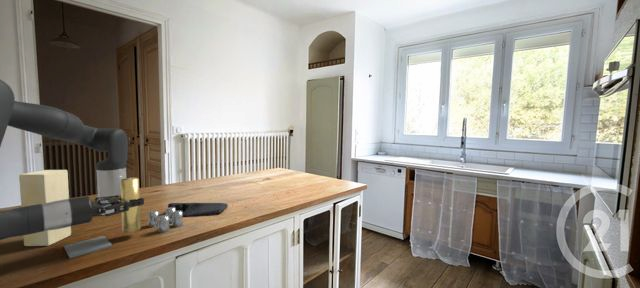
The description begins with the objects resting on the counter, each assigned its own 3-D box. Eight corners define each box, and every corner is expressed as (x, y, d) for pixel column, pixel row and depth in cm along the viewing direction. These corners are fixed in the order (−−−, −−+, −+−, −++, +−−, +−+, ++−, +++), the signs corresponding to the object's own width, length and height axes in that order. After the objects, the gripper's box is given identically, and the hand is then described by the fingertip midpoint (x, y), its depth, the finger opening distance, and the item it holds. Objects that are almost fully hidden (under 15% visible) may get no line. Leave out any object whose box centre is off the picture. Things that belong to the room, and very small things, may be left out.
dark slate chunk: (221, 217, 102) (221, 206, 101) (161, 219, 99) (160, 207, 99) (230, 205, 117) (230, 195, 116) (178, 206, 114) (177, 196, 114)
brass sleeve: (120, 229, 82) (118, 179, 81) (137, 225, 86) (135, 177, 84) (124, 233, 79) (122, 181, 78) (142, 229, 83) (140, 179, 81)
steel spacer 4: (171, 225, 92) (170, 212, 92) (180, 223, 94) (180, 209, 94) (174, 228, 90) (174, 214, 90) (184, 225, 92) (184, 211, 92)
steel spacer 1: (147, 226, 91) (146, 212, 91) (157, 223, 94) (156, 209, 94) (150, 228, 89) (149, 214, 89) (160, 225, 92) (160, 211, 92)
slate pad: (64, 247, 75) (64, 245, 75) (104, 237, 82) (104, 235, 82) (69, 258, 69) (69, 256, 69) (112, 246, 76) (111, 244, 76)
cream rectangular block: (47, 234, 83) (42, 169, 81) (72, 234, 84) (68, 169, 82) (20, 246, 75) (15, 174, 73) (48, 246, 76) (43, 174, 74)
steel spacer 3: (164, 223, 94) (163, 209, 93) (169, 220, 97) (168, 207, 97) (173, 223, 94) (172, 209, 93) (178, 220, 97) (177, 207, 97)
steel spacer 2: (156, 231, 87) (156, 216, 87) (167, 228, 90) (166, 214, 89) (160, 234, 85) (160, 219, 85) (171, 231, 88) (170, 216, 87)
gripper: (70, 205, 66) (148, 192, 79) (62, 194, 75) (133, 183, 88) (72, 234, 67) (149, 216, 80) (63, 219, 76) (133, 205, 89)
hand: (140, 199), depth 84 cm, fingers closed on brass sleeve, 4 cm apart
